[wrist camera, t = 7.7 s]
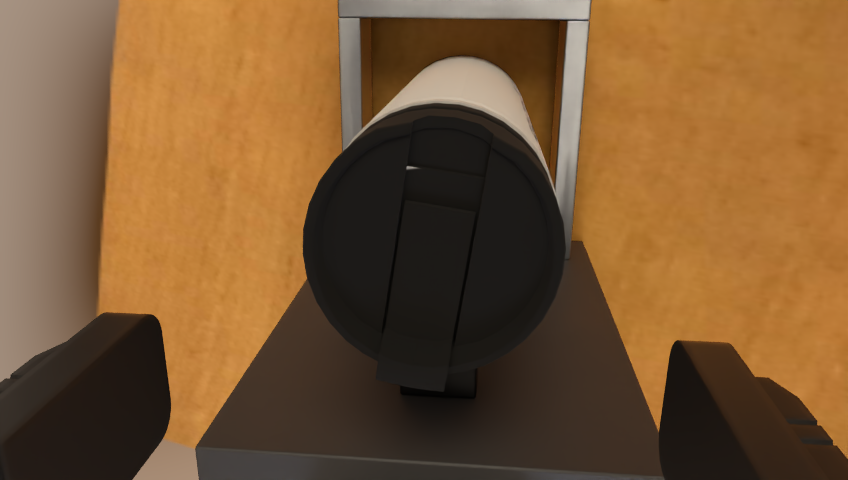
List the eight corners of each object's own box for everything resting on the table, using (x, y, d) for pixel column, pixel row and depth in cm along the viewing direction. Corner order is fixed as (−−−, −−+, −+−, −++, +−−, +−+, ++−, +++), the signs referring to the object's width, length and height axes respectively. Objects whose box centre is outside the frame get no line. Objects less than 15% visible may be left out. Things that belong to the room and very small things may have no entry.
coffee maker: (337, 231, 37) (160, 496, 17) (583, 240, 36) (701, 535, 16) (342, 363, 39) (193, 726, 19) (570, 375, 38) (659, 773, 18)
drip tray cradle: (350, -6, 33) (234, -15, 18) (583, -4, 32) (667, -12, 17) (356, 232, 37) (265, 387, 22) (563, 240, 36) (617, 408, 21)
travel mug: (391, 175, 35) (281, 371, 16) (409, 45, 33) (306, 98, 14) (510, 196, 35) (536, 416, 16) (536, 65, 33) (602, 148, 14)
